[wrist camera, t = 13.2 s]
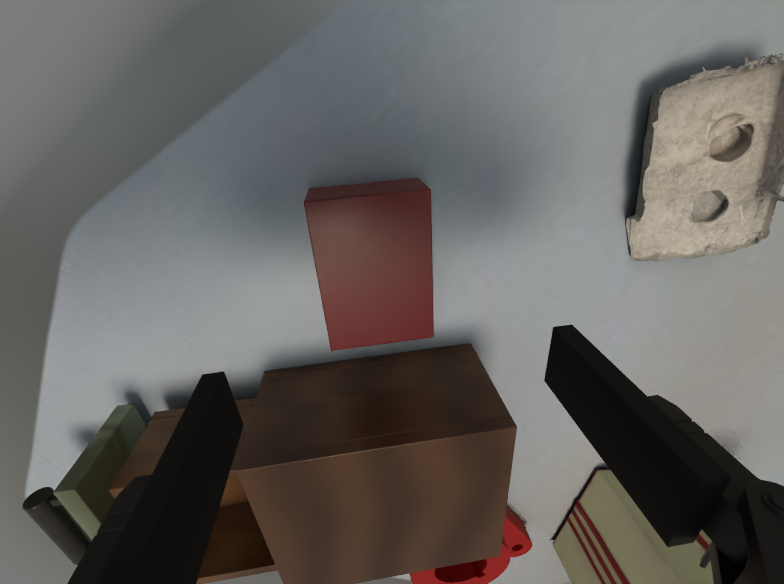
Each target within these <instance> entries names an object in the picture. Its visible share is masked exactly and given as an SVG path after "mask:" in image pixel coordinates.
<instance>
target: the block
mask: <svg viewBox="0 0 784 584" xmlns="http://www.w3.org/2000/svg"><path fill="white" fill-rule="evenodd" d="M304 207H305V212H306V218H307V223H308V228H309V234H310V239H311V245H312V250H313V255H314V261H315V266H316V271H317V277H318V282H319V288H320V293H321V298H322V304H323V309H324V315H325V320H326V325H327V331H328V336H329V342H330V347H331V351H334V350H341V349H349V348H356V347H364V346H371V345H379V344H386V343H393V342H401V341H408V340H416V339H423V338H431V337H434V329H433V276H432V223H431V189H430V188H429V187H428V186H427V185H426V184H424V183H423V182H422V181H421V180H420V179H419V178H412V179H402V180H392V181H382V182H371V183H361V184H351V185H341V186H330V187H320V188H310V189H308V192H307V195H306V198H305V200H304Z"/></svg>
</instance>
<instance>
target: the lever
mask: <svg viewBox="0 0 784 584" xmlns="http://www.w3.org/2000/svg"><path fill="white" fill-rule="evenodd" d="M531 547H532V542H531V540H530V537H529V535H528V533H527V531H526V528H525V526H524V524H523V522H522V521H521V520H520V519H519V518H518V517H517V516H516V515H515V514H514V513H513V512H512V511H511V510H510V509H509V508H508V507H507V506H506V513H505V521H504V528H503V536H502V544H501V551H500V556H499V557H494V558H489V559H483V560H478V561H473V562H467V563H462V564H456V565H451V566H446V567H440V568H435V569H430V570H424V571H419V572H413V573H410V576H411V581H412V583H413V584H488V583H489V582H491V581H493V580H494V579H496V578H497V577H498V576H499V575H501V574H502V573H503V572H504V570H505V569H506V568H507V566H508V564H509V562H510V557H516V556H520V555H523V554H525V553H527V552H528V551H529V550H530V549H531Z"/></svg>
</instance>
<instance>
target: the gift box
mask: <svg viewBox="0 0 784 584" xmlns="http://www.w3.org/2000/svg"><path fill="white" fill-rule="evenodd" d="M711 542H712V541H711V540H710V538H709V537H708V536H707V535H706V534H705V532H704V531H703V530H701V531H700V533H699V535H698V537H697V538H696V540H695V542H694V543H689V544H683V545H678V546H673V547H667V546H666V545H665V543H664V542H663V540H662V539H661V538H660V536H659V535H658V534H657V532H656V531H655V530H654V528H653V527H652V526H651V524H650V523H649V522H648V520H647V519H646V517H645V516H644V515H643V513H642V512H641V511H640V509H639V508H638V507H637V505H636V504H635V503H634V501H633V500H632V499H631V497H630V496H629V494H628V493H627V492H626V490H625V489H624V488H623V486H622V485H621V484H620V482H619V481H618V480H617V478H616V477H615V476H614V474H613V473H612V471H611V470H610V469H600V470H597V471H596V472H595V474H594V475H593V477H592V479H591V480H590V482H589V484H588V485H587V487H586V489H585V490H584V492H583V494H582V495H581V497H580V499H579V500H577V502H576V504H575V507H574V509H573V510H572V512H571V513H570V515H569V516H568V518H567V520H566V522H565V524H564V525H563V527H562V529H561V530H560V532H559V534H558V535H557V537H556V539H555V540H554V542H553V546H554V549H555V551H556V552H557V554H558V556H559V558H560V560H561V562H562V564H563V566H564V568H565V570H566V572H567V574H568V576H569V578H570V580H571V582H572V584H714V582H713V575H712V567H711V560H710V562H709V563H708V565H707V566H706V568H705V569H704V568H702V567H700V561H701V558H702V556H703V555H704V553H705V551H706V550H707V548H708V547H709V545H710V543H711Z"/></svg>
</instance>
